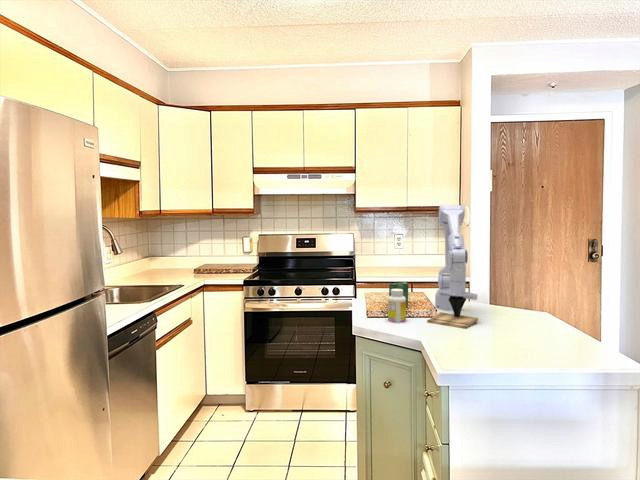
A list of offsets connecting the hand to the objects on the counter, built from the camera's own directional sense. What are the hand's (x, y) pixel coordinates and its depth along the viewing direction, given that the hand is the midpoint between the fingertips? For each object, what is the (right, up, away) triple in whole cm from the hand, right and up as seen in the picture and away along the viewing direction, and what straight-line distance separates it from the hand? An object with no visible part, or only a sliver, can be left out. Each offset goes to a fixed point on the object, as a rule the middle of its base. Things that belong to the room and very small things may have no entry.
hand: (457, 316), depth 181 cm
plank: (-2, -1, -2) cm, 3 cm away
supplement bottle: (-23, -3, +1) cm, 23 cm away
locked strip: (-5, -2, -7) cm, 9 cm away
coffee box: (-20, -2, +14) cm, 25 cm away
